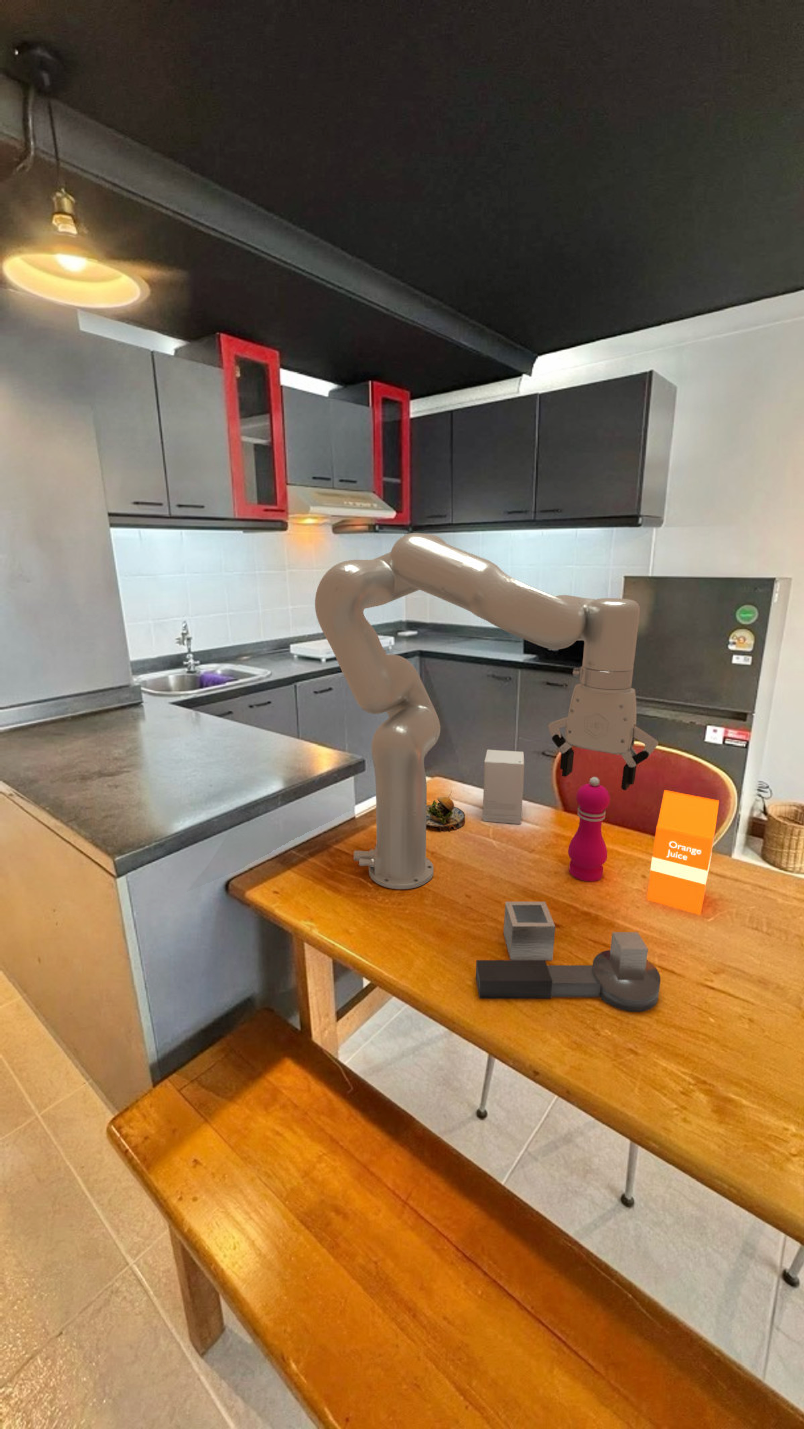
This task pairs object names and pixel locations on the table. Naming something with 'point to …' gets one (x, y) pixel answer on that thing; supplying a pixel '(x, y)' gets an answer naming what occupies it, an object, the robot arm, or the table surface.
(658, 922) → the table surface
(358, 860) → the robot arm
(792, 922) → the table surface
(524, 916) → the socket
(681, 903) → the orange juice
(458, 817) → the burger
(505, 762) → the supplement box
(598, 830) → the pepper mill
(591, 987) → the ratchet
